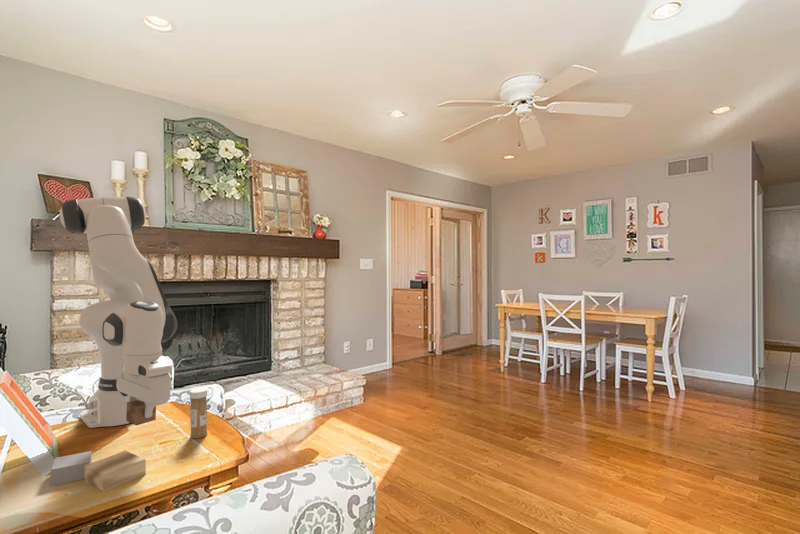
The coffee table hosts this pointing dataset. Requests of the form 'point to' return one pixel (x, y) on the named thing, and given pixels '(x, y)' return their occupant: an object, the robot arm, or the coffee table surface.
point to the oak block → (114, 470)
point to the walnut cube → (138, 412)
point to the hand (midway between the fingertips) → (141, 413)
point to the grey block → (69, 468)
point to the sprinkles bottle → (198, 413)
